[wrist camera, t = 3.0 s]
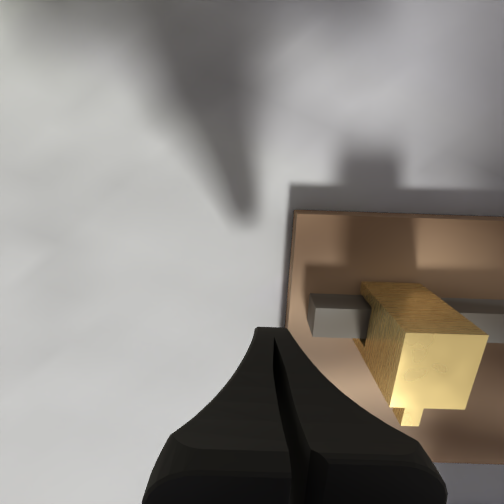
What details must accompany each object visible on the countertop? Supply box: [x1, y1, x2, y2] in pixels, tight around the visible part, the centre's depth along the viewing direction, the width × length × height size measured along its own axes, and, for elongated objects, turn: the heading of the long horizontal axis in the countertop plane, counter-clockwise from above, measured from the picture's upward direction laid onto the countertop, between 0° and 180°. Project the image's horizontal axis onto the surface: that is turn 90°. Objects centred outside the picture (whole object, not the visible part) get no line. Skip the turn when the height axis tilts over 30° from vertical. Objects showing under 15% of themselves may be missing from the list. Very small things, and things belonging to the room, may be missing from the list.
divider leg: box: [352, 281, 489, 426], centre depth 14 cm, size 5×3×5 cm, turn 178°
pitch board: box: [285, 210, 504, 465], centre depth 15 cm, size 16×21×7 cm
